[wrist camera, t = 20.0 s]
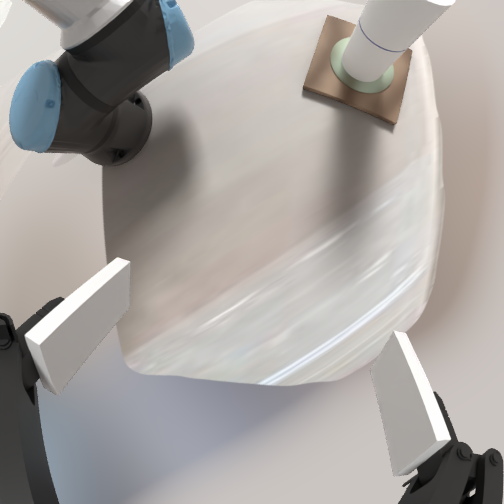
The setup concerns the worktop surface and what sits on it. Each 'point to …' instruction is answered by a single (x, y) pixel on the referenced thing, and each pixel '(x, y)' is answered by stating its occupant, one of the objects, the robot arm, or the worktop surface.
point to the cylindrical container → (387, 34)
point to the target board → (348, 88)
